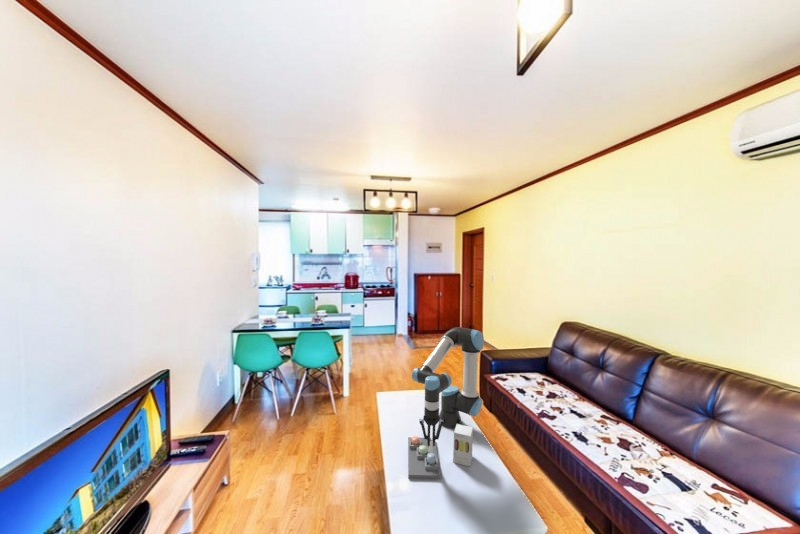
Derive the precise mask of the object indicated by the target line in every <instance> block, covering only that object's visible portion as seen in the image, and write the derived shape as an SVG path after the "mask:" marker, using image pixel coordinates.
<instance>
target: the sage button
mask: <svg viewBox="0 0 800 534" xmlns="http://www.w3.org/2000/svg"><path fill="white" fill-rule="evenodd" d="M419 455H427V447H426V446H424V445H421V446H419Z"/></svg>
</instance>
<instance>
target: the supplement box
mask: <svg viewBox="0 0 800 534" xmlns="http://www.w3.org/2000/svg"><path fill="white" fill-rule="evenodd" d="M473 428H474V427H473V426H468V425H465V424H461V425H460V424H457V425H456V428H454V433H453V451H452V452H453V453H452V457H453V458H452V463H455V464H459V465H463V466H466V467H471V465H472V460H473V441H474V440H473V439H474V438H473V437H474V429H473Z"/></svg>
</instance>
